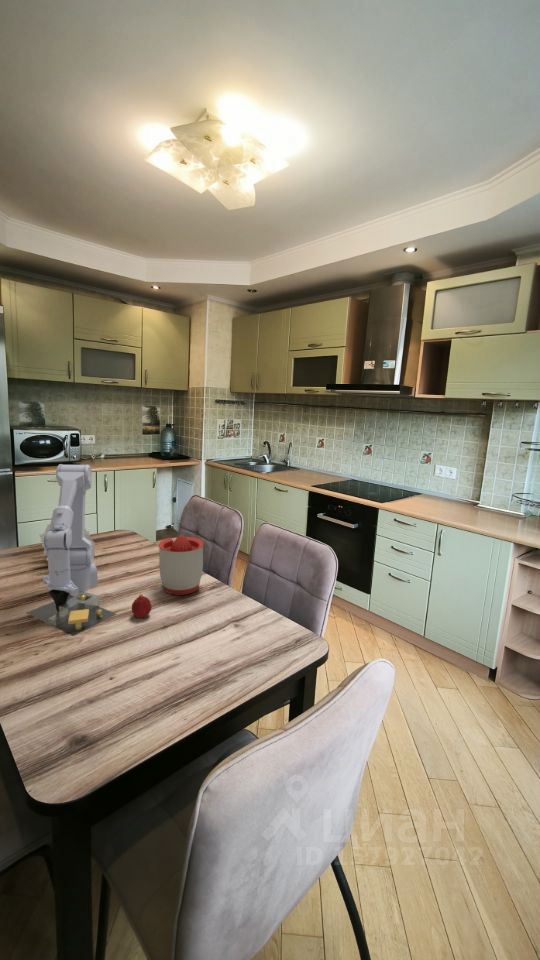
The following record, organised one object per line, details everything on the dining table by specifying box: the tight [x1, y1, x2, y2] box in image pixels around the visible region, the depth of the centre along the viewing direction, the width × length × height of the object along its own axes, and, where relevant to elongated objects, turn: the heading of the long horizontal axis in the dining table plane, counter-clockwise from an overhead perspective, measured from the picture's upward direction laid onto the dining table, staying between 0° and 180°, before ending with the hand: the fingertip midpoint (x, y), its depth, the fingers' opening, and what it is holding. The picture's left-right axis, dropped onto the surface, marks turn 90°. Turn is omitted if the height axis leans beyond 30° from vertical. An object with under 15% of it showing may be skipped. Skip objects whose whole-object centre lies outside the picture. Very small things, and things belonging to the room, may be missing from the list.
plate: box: [26, 594, 117, 637], centre depth 127 cm, size 15×23×1 cm, turn 60°
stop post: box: [96, 609, 102, 618], centre depth 125 cm, size 2×2×2 cm
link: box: [47, 591, 100, 627], centre depth 127 cm, size 15×6×4 cm, turn 160°
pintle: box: [79, 594, 86, 601], centre depth 131 cm, size 2×2×4 cm
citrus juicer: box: [157, 534, 205, 596], centre depth 147 cm, size 16×17×20 cm
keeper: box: [68, 609, 89, 630], centre depth 120 cm, size 6×5×3 cm
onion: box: [131, 593, 153, 619], centre depth 126 cm, size 6×6×8 cm
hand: (61, 611), depth 126 cm, fingers closed, pressing on link
